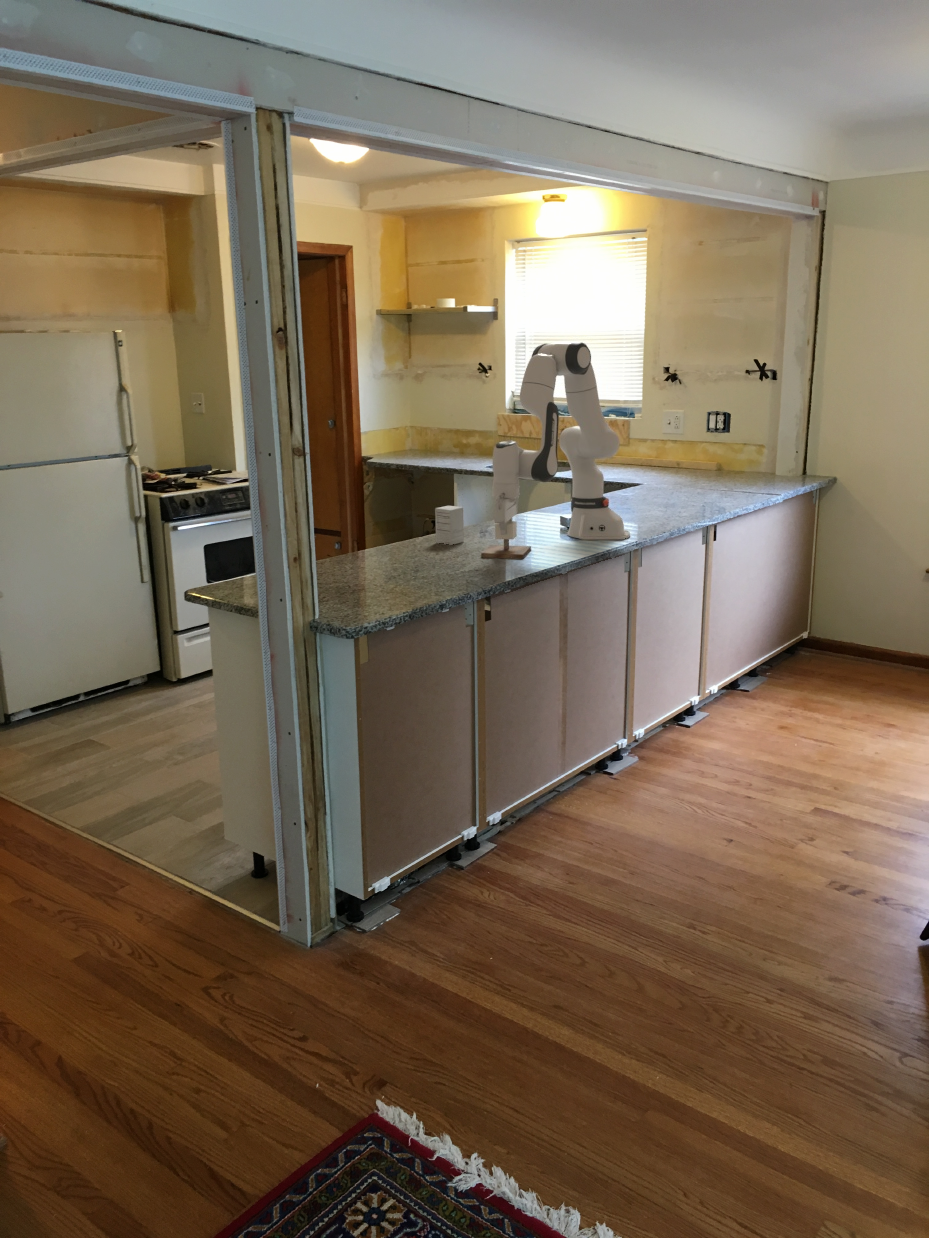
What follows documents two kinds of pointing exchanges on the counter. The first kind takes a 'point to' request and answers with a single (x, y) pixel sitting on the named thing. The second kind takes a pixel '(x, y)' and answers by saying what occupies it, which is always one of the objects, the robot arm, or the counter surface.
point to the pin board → (506, 551)
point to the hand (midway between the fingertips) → (505, 532)
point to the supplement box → (449, 525)
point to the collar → (511, 530)
